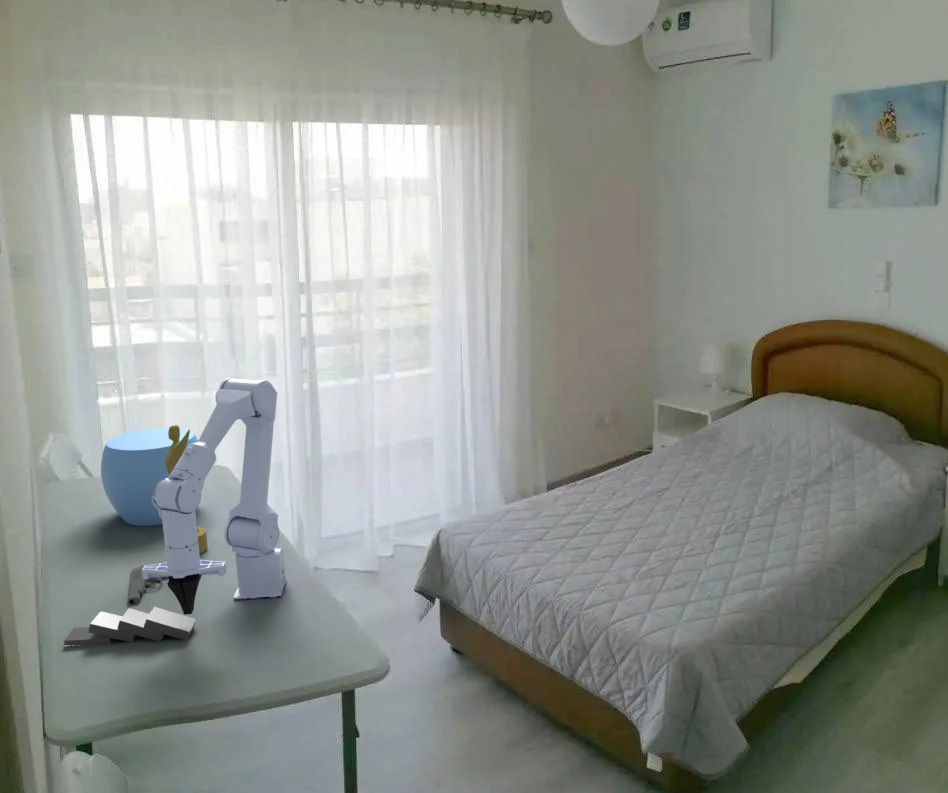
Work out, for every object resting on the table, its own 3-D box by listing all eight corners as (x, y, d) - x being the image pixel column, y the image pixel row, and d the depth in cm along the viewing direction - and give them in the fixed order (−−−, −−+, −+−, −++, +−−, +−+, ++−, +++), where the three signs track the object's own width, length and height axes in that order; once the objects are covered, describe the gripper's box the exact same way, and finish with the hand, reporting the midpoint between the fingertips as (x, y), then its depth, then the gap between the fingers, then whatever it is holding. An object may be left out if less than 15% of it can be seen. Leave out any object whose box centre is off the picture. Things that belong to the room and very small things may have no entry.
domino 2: (171, 620, 156) (129, 607, 155) (163, 633, 152) (119, 620, 151) (168, 629, 157) (126, 616, 156) (160, 642, 152) (117, 628, 151)
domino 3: (196, 619, 156) (154, 606, 155) (189, 632, 152) (146, 619, 151) (193, 627, 157) (151, 615, 156) (186, 640, 152) (143, 627, 151)
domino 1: (143, 621, 156) (100, 611, 155) (134, 633, 151) (90, 623, 151) (141, 629, 156) (98, 619, 156) (132, 642, 152) (88, 632, 151)
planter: (181, 491, 234) (174, 421, 230) (227, 512, 217) (220, 436, 213) (91, 515, 217) (81, 440, 213) (132, 539, 200) (123, 458, 195)
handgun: (190, 596, 171) (127, 606, 167) (189, 566, 185) (131, 574, 182) (189, 588, 170) (126, 598, 166) (188, 558, 185) (130, 567, 181)
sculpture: (166, 548, 194) (153, 423, 188) (196, 539, 199) (184, 418, 193) (187, 562, 186) (173, 432, 180) (217, 552, 191) (205, 426, 185)
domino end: (118, 625, 156) (73, 627, 155) (109, 638, 151) (63, 640, 150) (119, 634, 156) (75, 636, 155) (110, 647, 151) (65, 649, 151)
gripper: (133, 553, 146) (141, 624, 149) (217, 549, 147) (224, 620, 150) (145, 538, 153) (153, 606, 156) (226, 534, 154) (232, 602, 157)
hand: (188, 611), depth 154 cm, fingers closed
